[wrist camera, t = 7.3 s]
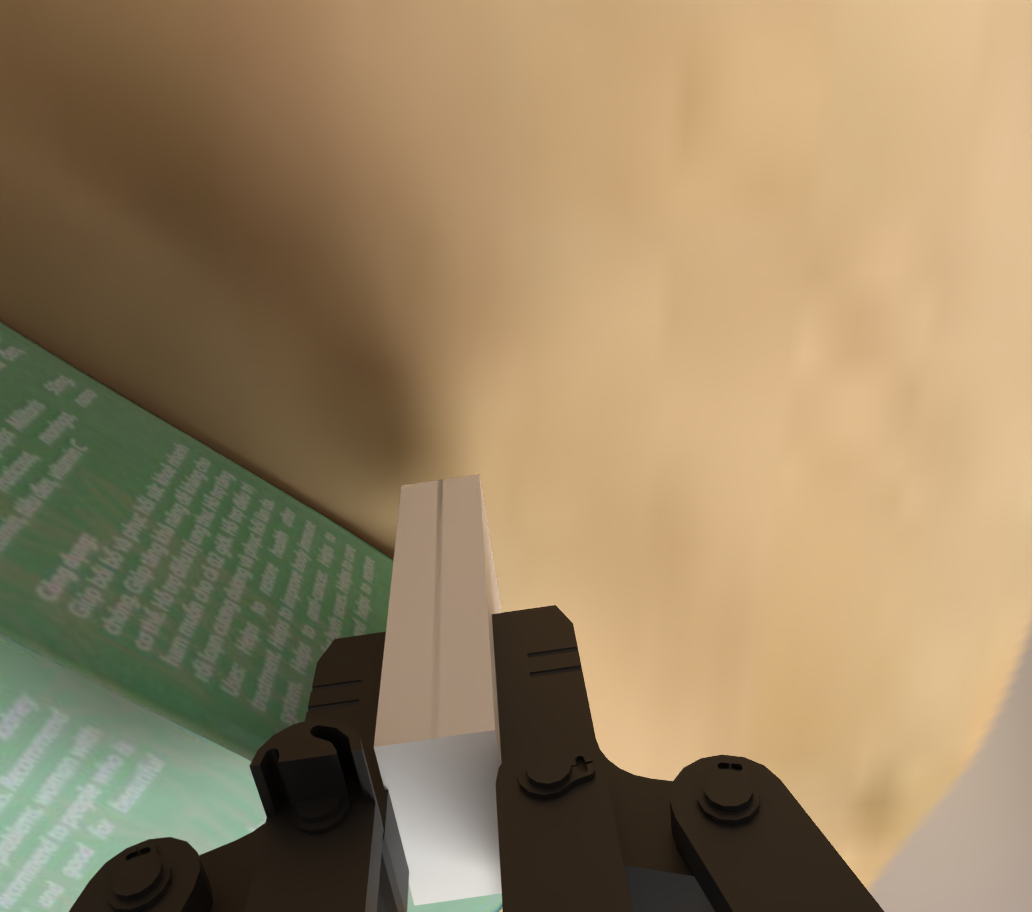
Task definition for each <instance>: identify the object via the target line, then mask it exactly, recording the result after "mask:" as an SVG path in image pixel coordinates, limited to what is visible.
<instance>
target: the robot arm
mask: <svg viewBox="0 0 1032 912" xmlns="http://www.w3.org/2000/svg"><path fill="white" fill-rule="evenodd" d="M249 767H250V770H251V773H252V776H253V779H254V781H255V784H256V787H257V790H258V793H259V796H260V799H261V802H262V805H263V808H264V811H265V814H266V817H267V818H266V822H265V823H264V824H263V825H261V826H260V827H258V828H257V829H256V830H254V831H253V832H251V833H249V834H247V835H245V836H243V837H241V838H239V839H237V840H235V841H233V842H230V843H228V844H226V845H223V846H221V847H218V848H216V849H213V850H211V851H208V852H206V853H203V854H201V855H199V854H198V852H197V851H196V850H195V849H194V848H193V847H192V846H191V845H190V844H189V843H188V842H187V841H183V840H180V839H176V838H173V837H164V838H155V839H148V840H146V841H143V842H141V843H138V844H136V845H133V846H130V847H128V848H126V849H125V850H123V851H122V852H120V853H119V854H117V855H116V856H114V857H113V858H112V859H110V860H109V861H107V862H106V863H105V864H104V865H103V866H102V867H101V868H100V870H99V871H98V872H97V873H96V874H95V875H94V876H93V877H92V879H91V880H90V881H89V882H88V884H87V885H86V887H85V888H84V890H83V891H82V893H81V894H80V896H79V897H78V899H77V900H76V902H75V903H74V904H73V906H72V907H71V909H70V910H69V912H407V905H408V885H409V886H410V890H411V894H412V898H413V902H414V905H415V906H416V905H423V904H430V903H437V902H444V901H451V900H458V899H465V898H472V897H479V896H486V895H493V894H500V893H502V906H503V912H884V911H883V910H882V908H881V907H880V906H879V904H878V903H877V902H876V901H875V899H874V898H873V897H872V895H871V894H870V893H869V892H868V890H867V889H866V888H865V887H864V885H863V884H862V883H861V881H860V880H859V879H858V878H857V876H856V875H855V874H854V873H853V871H852V870H851V869H850V868H849V866H848V865H847V864H846V862H845V861H844V860H843V859H842V857H841V856H840V855H839V854H838V852H837V851H836V850H835V848H834V847H833V846H832V845H831V843H830V842H829V841H828V840H827V838H826V837H825V836H824V835H823V833H822V832H821V831H820V829H819V828H818V827H817V826H816V824H815V823H814V822H813V821H812V819H811V818H810V817H809V816H808V814H807V813H806V812H805V810H804V809H803V808H802V807H801V805H800V804H799V803H798V802H797V800H796V799H795V798H794V796H793V795H792V794H791V793H790V791H789V790H788V789H787V788H786V786H785V785H784V784H783V783H782V781H781V780H780V779H779V778H778V777H777V776H776V775H774V774H773V773H772V772H771V771H770V770H769V769H767V768H766V767H765V766H764V765H761V764H759V763H756V762H754V761H752V760H749V759H747V758H745V757H737V756H728V755H718V756H712V757H707V758H701V759H699V760H697V761H695V762H694V763H692V764H690V765H688V766H686V767H685V768H683V769H682V771H681V772H680V773H679V775H678V776H677V777H676V778H675V780H674V781H665V780H657V779H650V778H645V777H641V776H636V775H633V774H631V773H629V772H626V771H624V770H622V769H620V768H618V767H617V766H616V765H614V764H613V763H612V762H610V761H609V760H608V759H607V758H606V757H605V755H604V754H603V753H602V752H601V750H600V749H599V746H598V743H597V741H596V738H595V733H594V728H593V723H592V718H591V713H590V708H589V703H588V697H587V692H586V687H585V682H584V677H583V672H582V668H581V662H580V657H579V652H578V647H577V642H576V637H575V632H574V627H573V623H572V622H571V621H570V620H569V619H568V618H567V617H566V616H565V615H564V614H563V613H562V612H561V611H560V609H559V608H558V607H557V606H556V605H554V606H547V607H540V608H533V609H526V610H519V611H512V612H505V613H501V609H500V597H499V591H498V585H497V579H496V573H495V567H494V560H493V554H492V548H491V542H490V536H489V530H488V523H487V517H486V511H485V505H484V499H483V493H482V486H481V480H480V474H478V475H471V476H464V477H457V478H450V479H443V480H436V481H429V482H422V483H415V484H408V485H402V486H401V495H400V505H399V514H398V524H397V533H396V542H395V552H394V561H393V571H392V580H391V589H390V599H389V608H388V618H387V627H386V632H380V633H373V634H366V635H359V636H351V637H344V638H337V639H334V641H333V642H332V643H331V645H330V646H329V647H328V648H327V650H326V651H325V652H324V654H323V655H322V656H321V658H320V659H319V660H318V662H317V665H316V670H315V674H314V679H313V684H312V691H311V694H310V698H309V703H308V711H307V713H306V718H305V721H304V722H300V723H297V724H293V725H291V726H289V727H287V728H285V729H284V730H282V731H280V732H278V733H276V734H275V735H273V736H272V737H271V738H270V739H269V740H268V741H267V742H265V743H264V744H263V745H262V746H261V747H260V748H259V749H258V750H257V752H256V754H255V756H254V758H253V760H252V762H251V764H250V766H249Z"/></svg>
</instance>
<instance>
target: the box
mask: <svg viewBox="0 0 1032 912" xmlns="http://www.w3.org/2000/svg"><path fill="white" fill-rule="evenodd" d="M393 561H394V560H393V559H391V558H389V557H388V556H386V555H385V554H383V553H382V552H380V551H378V550H377V549H375V548H374V547H372V546H371V545H369V544H367V543H366V542H364V541H363V540H361V539H360V538H358V537H356V536H355V535H353V534H352V533H350V532H349V531H347V530H345V529H344V528H342V527H341V526H339V525H338V524H336V523H334V522H333V521H331V520H330V519H328V518H326V517H325V516H323V515H321V514H320V513H318V512H316V511H315V510H313V509H311V508H310V507H308V506H306V505H305V504H303V503H301V502H300V501H298V500H296V499H295V498H293V497H291V496H290V495H288V494H286V493H284V492H283V491H281V490H279V489H278V488H276V487H274V486H273V485H271V484H269V483H268V482H266V481H264V480H263V479H261V478H259V477H258V476H256V475H254V474H253V473H251V472H249V471H248V470H246V469H244V468H243V467H241V466H239V465H238V464H236V463H234V462H233V461H231V460H229V459H228V458H226V457H224V456H223V455H221V454H219V453H218V452H216V451H214V450H213V449H211V448H209V447H208V446H206V445H204V444H203V443H201V442H199V441H198V440H196V439H194V438H193V437H191V436H189V435H188V434H186V433H184V432H183V431H181V430H179V429H177V428H176V427H174V426H172V425H171V424H169V423H167V422H166V421H164V420H162V419H161V418H159V417H157V416H156V415H154V414H152V413H151V412H149V411H147V410H146V409H144V408H142V407H141V406H139V405H137V404H136V403H134V402H132V401H130V400H129V399H127V398H125V397H124V396H122V395H120V394H119V393H117V392H115V391H114V390H112V389H110V388H109V387H107V386H105V385H104V384H102V383H100V382H98V381H97V380H95V379H93V378H92V377H90V376H88V375H87V374H85V373H83V372H82V371H80V370H78V369H77V368H75V367H73V366H72V365H70V364H68V363H67V362H65V361H63V360H62V359H60V358H59V357H57V356H55V355H54V354H52V353H50V352H49V351H47V350H46V349H44V348H42V347H41V346H39V345H37V344H36V343H34V342H33V341H31V340H29V339H28V338H26V337H24V336H23V335H21V334H19V333H18V332H16V331H15V330H13V329H11V328H10V327H8V326H6V325H5V324H3V323H2V322H0V912H69V910H70V909H71V907H72V906H73V904H74V903H75V902H76V900H77V899H78V897H79V896H80V894H81V893H82V891H83V890H84V888H85V887H86V885H87V884H88V882H89V881H90V880H91V879H92V877H93V876H94V875H95V874H96V873H97V872H98V871H99V870H100V868H101V867H102V866H103V865H104V864H105V863H106V862H107V861H109V860H110V859H112V858H113V857H114V856H116V855H117V854H119V853H120V852H122V851H123V850H125V849H126V848H128V847H130V846H133V845H136V844H138V843H141V842H143V841H146V840H148V839H155V838H164V837H173V838H176V839H180V840H183V841H187V842H188V843H189V844H190V845H191V846H192V847H193V848H194V849H195V850H196V851H197V852H198V854H199V855H201V854H203V853H206V852H208V851H211V850H213V849H216V848H218V847H221V846H223V845H226V844H228V843H230V842H233V841H235V840H237V839H239V838H241V837H243V836H245V835H247V834H249V833H251V832H253V831H254V830H256V829H257V828H258V827H260V826H261V825H263V824H264V823H265V822H266V818H267V817H266V814H265V811H264V808H263V805H262V802H261V799H260V796H259V793H258V790H257V787H256V784H255V781H254V779H253V776H252V773H251V770H250V767H249V766H250V764H251V762H252V760H253V758H254V756H255V754H256V752H257V750H258V749H259V748H260V747H261V746H262V745H263V744H264V743H265V742H267V741H268V740H269V739H270V738H271V737H272V736H273V735H275V734H276V733H278V732H280V731H282V730H284V729H285V728H287V727H289V726H291V725H293V724H297V723H300V722H304V721H305V718H306V713H307V711H308V703H309V698H310V694H311V691H312V684H313V679H314V674H315V670H316V665H317V662H318V660H319V659H320V658H321V656H322V655H323V654H324V652H325V651H326V650H327V648H328V647H329V646H330V645H331V643H332V642H333V641H334V639H337V638H344V637H351V636H359V635H366V634H373V633H380V632H386V627H387V618H388V608H389V599H390V589H391V580H392V571H393ZM502 907H503V906H502V893H500V894H493V895H486V896H479V897H472V898H465V899H458V900H451V901H444V902H437V903H430V904H423V905H416V906H415V905H414V902H413V898H412V894H411V890H410V886H409V885H408V905H407V912H499V911H500V910H501V909H502Z"/></svg>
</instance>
